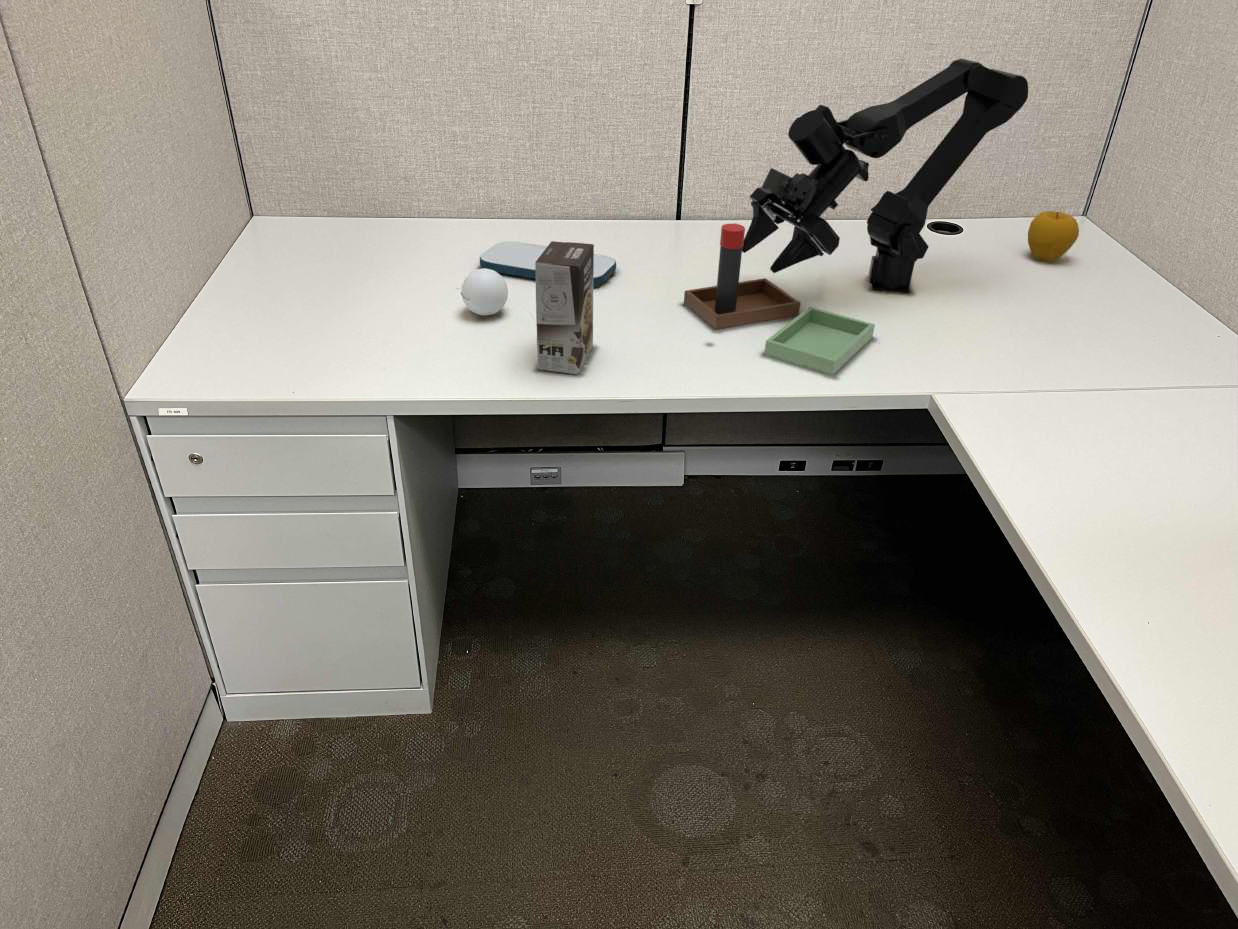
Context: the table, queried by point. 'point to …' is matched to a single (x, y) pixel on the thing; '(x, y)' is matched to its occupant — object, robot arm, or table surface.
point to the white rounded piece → (484, 292)
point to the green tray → (819, 340)
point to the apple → (1052, 235)
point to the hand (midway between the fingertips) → (756, 260)
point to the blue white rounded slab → (523, 258)
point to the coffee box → (564, 306)
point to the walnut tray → (743, 304)
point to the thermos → (729, 267)
